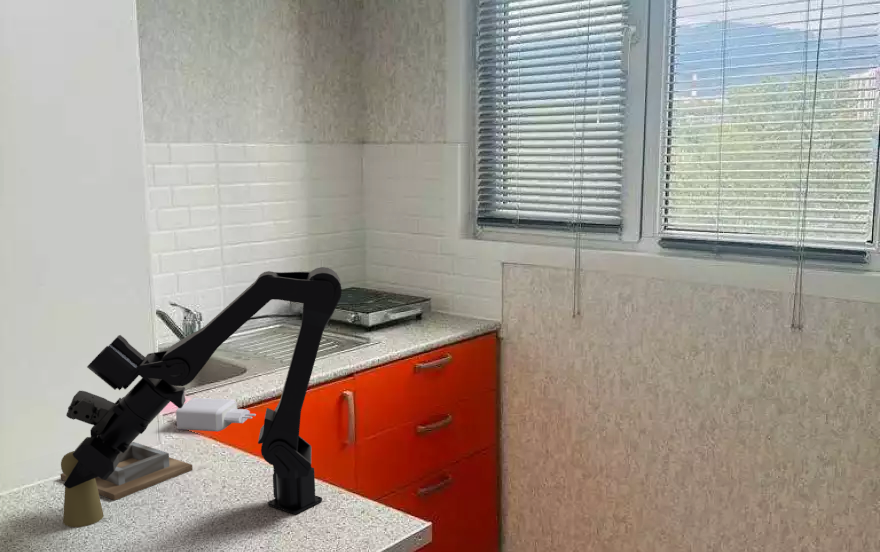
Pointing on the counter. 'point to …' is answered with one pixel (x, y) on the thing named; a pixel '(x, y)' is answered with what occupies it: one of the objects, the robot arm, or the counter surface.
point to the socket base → (139, 471)
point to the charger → (210, 414)
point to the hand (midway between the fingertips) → (70, 479)
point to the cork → (80, 498)
